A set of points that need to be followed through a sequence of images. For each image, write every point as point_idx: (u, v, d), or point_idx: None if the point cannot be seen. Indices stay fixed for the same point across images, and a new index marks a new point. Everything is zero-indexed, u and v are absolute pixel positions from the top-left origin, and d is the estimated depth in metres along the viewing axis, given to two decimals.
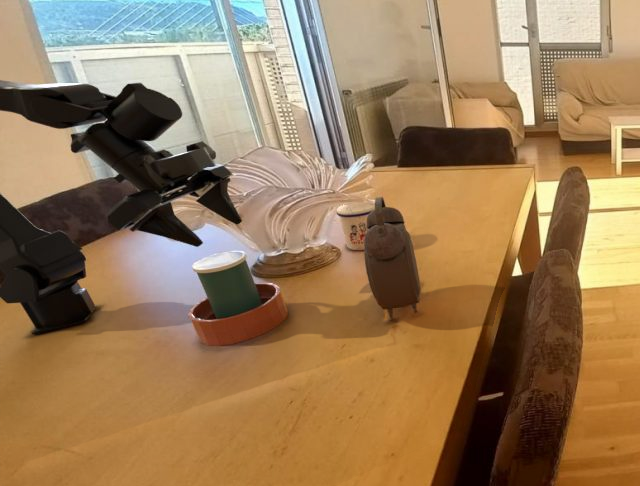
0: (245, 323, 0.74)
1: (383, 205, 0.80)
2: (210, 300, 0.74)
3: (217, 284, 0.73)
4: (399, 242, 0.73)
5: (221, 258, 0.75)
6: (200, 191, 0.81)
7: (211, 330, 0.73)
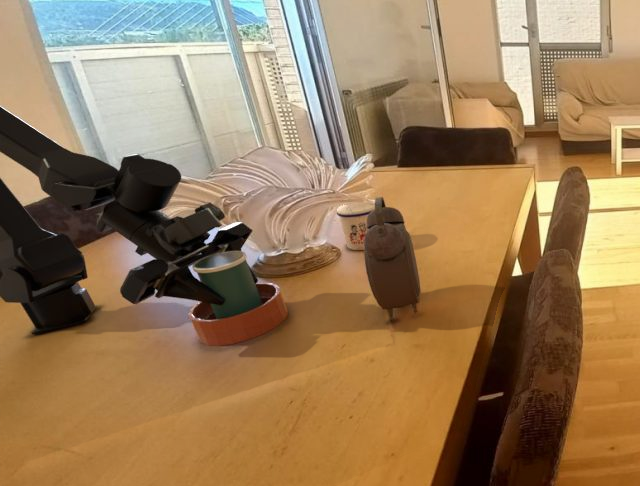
0: (245, 323, 0.74)
1: (383, 205, 0.80)
2: None
3: (217, 284, 0.73)
4: (399, 242, 0.73)
5: (221, 258, 0.75)
6: None
7: (211, 330, 0.73)
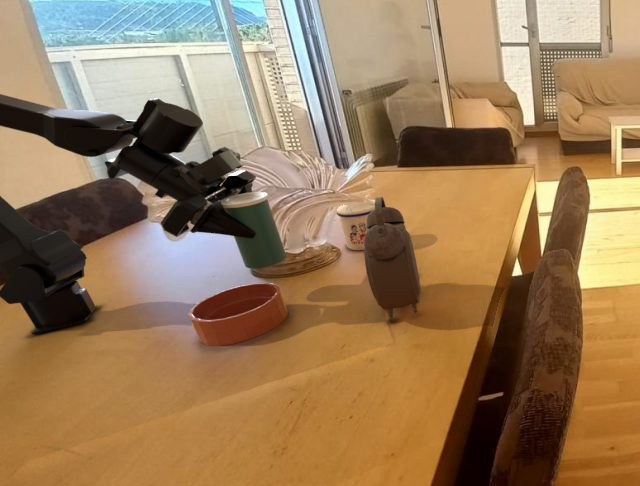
0: (245, 323, 0.74)
1: (383, 205, 0.80)
2: None
3: (248, 218, 0.80)
4: (399, 242, 0.73)
5: (244, 197, 0.81)
6: None
7: (211, 330, 0.73)
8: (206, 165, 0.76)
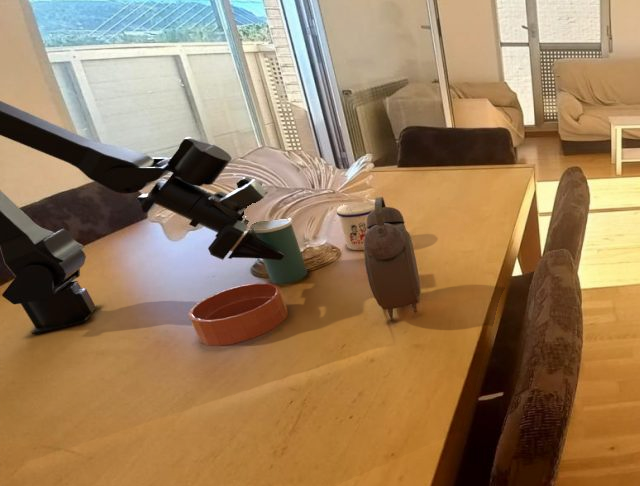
0: (245, 323, 0.74)
1: (383, 205, 0.80)
2: None
3: (280, 240, 0.89)
4: (399, 242, 0.73)
5: (271, 222, 0.91)
6: None
7: (211, 330, 0.73)
8: (240, 194, 0.85)
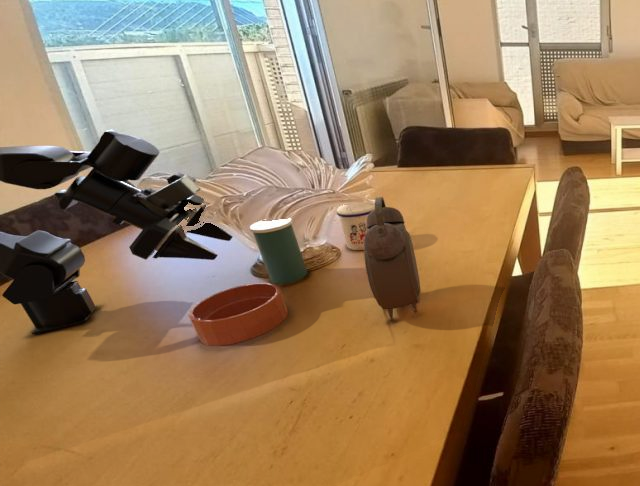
0: (245, 323, 0.74)
1: (383, 205, 0.80)
2: (270, 257, 0.90)
3: (280, 240, 0.89)
4: (399, 242, 0.73)
5: (271, 222, 0.91)
6: None
7: (211, 330, 0.73)
8: (168, 190, 0.80)
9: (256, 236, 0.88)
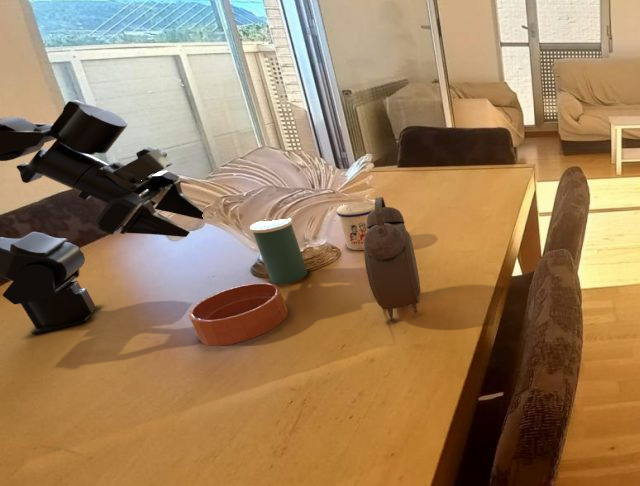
0: (245, 323, 0.74)
1: (383, 205, 0.80)
2: (270, 257, 0.90)
3: (280, 240, 0.89)
4: (399, 242, 0.73)
5: (271, 222, 0.91)
6: (156, 198, 0.86)
7: (211, 330, 0.73)
8: (136, 164, 0.77)
9: (256, 236, 0.88)
